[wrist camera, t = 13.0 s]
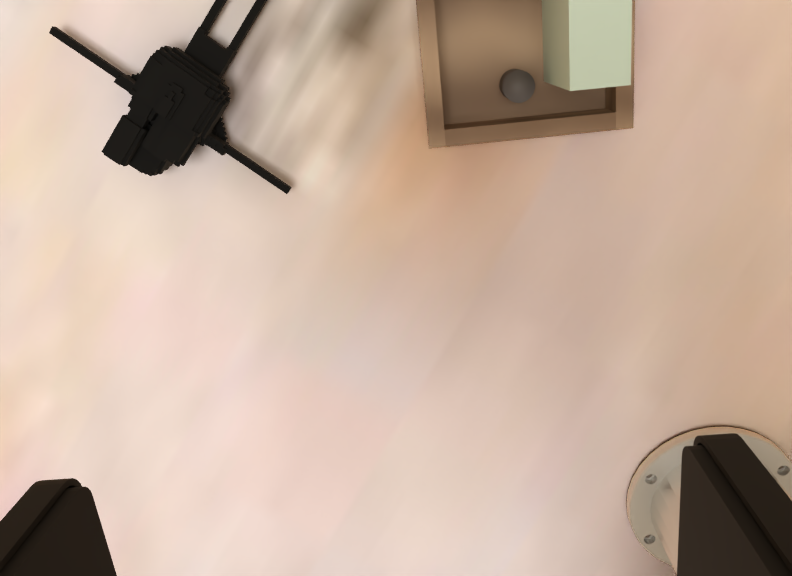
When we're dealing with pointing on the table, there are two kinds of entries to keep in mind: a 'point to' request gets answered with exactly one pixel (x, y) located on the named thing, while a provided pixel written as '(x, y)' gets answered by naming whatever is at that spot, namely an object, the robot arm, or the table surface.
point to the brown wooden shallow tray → (503, 77)
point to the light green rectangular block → (587, 43)
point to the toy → (176, 101)
